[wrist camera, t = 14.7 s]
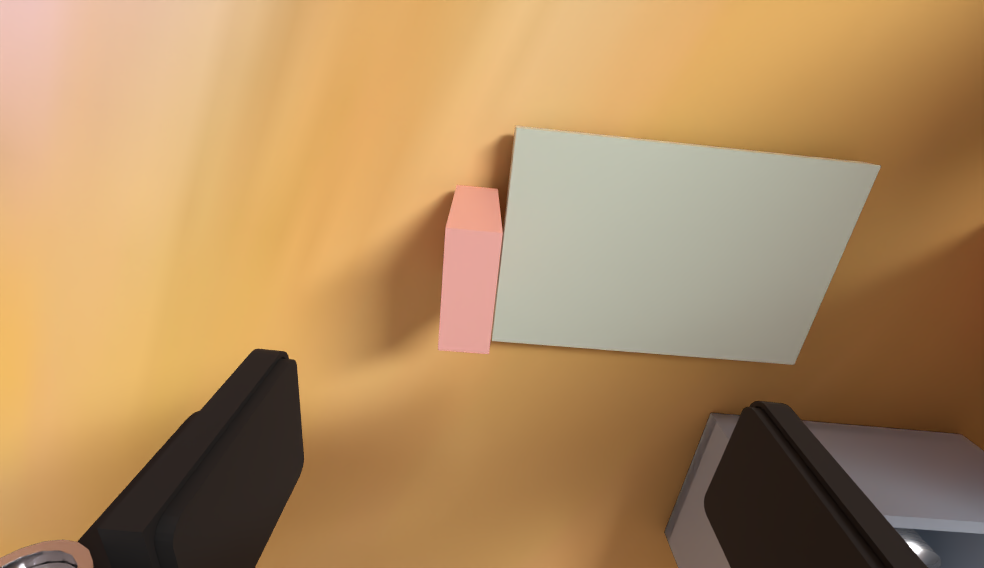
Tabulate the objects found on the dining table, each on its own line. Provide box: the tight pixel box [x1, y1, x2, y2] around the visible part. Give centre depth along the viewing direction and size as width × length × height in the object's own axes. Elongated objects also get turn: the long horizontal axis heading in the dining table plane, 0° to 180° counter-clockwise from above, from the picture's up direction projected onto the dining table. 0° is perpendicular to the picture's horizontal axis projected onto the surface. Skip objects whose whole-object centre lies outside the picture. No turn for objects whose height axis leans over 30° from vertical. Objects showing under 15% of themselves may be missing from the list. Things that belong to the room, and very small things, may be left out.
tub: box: [664, 413, 984, 568], centre depth 29 cm, size 11×17×7 cm, turn 83°
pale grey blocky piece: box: [438, 126, 881, 365], centre depth 21 cm, size 11×20×8 cm, turn 84°
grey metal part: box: [894, 528, 941, 568], centre depth 30 cm, size 4×4×4 cm
